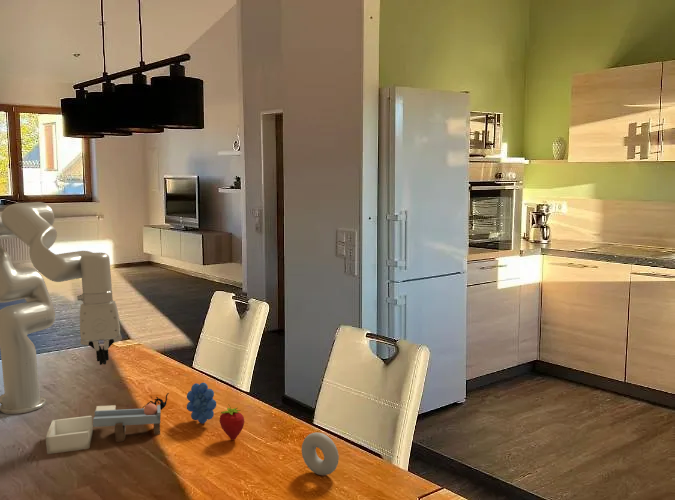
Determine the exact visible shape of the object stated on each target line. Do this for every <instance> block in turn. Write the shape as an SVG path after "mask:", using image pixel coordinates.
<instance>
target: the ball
mask: <svg viewBox="0 0 675 500" xmlns="http://www.w3.org/2000/svg"><path fill="white" fill-rule="evenodd" d="M146 404H147V403H146ZM146 404H145V405H144V406H145V407H143V408H144V413H145V415H155V414H156V413H157V404H156V405H155V404H152V403H151V402H150V403H149V404H147V405H146Z"/></svg>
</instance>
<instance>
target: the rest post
mask: <svg viewBox="0 0 675 500" xmlns="http://www.w3.org/2000/svg"><path fill="white" fill-rule="evenodd" d="M153 435H154V436H155V435H161V422H160V423H158V424H153Z"/></svg>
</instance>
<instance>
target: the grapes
mask: <svg viewBox="0 0 675 500" xmlns="http://www.w3.org/2000/svg"><path fill="white" fill-rule="evenodd" d="M214 396H215V392H214V390H213V389H212V388H209V386H208V384H207V383H206V382H201V383H198V382H197V383H196V382H195V383H193V384H192V386H191V389H190V390H189V391H188V392H187V394H186V399H187V401H188V402H187V404H186V411H187V410H188V411H189V412H191V414H190V417H191V419H192V420H194V421H198V422H199V424H202V425H203V424H205V423H206V422H207V421H208V420H212V419H213V418H214V415H215V413H214V410H215V409H216V408H217V402H216V399H214Z"/></svg>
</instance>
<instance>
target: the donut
mask: <svg viewBox="0 0 675 500" xmlns="http://www.w3.org/2000/svg"><path fill="white" fill-rule="evenodd" d="M317 449H320V451H321V452H322V454H323V459H321V458H320V457H319V456H318V453H317ZM301 455H302V458H303V461H304V464H305V465H306V466H307V468H308V469H309V470H310V471H311V472H312V473H314V474H316V475H319V476H329V475H331V474H332V473H333V472H334V471H336V469H337V467H338V464H339V459H340V458H339V457H340V455H339V451H338V448H337V446H336V444H335V442H334V440H333V439H332V438H330V437H329V436H328V435H327V434H325V433H323V432H319V431H317V432H312V433H309V434H308V435H307V436H306V437H305V438H304V439H303V442H302V444H301Z"/></svg>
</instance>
